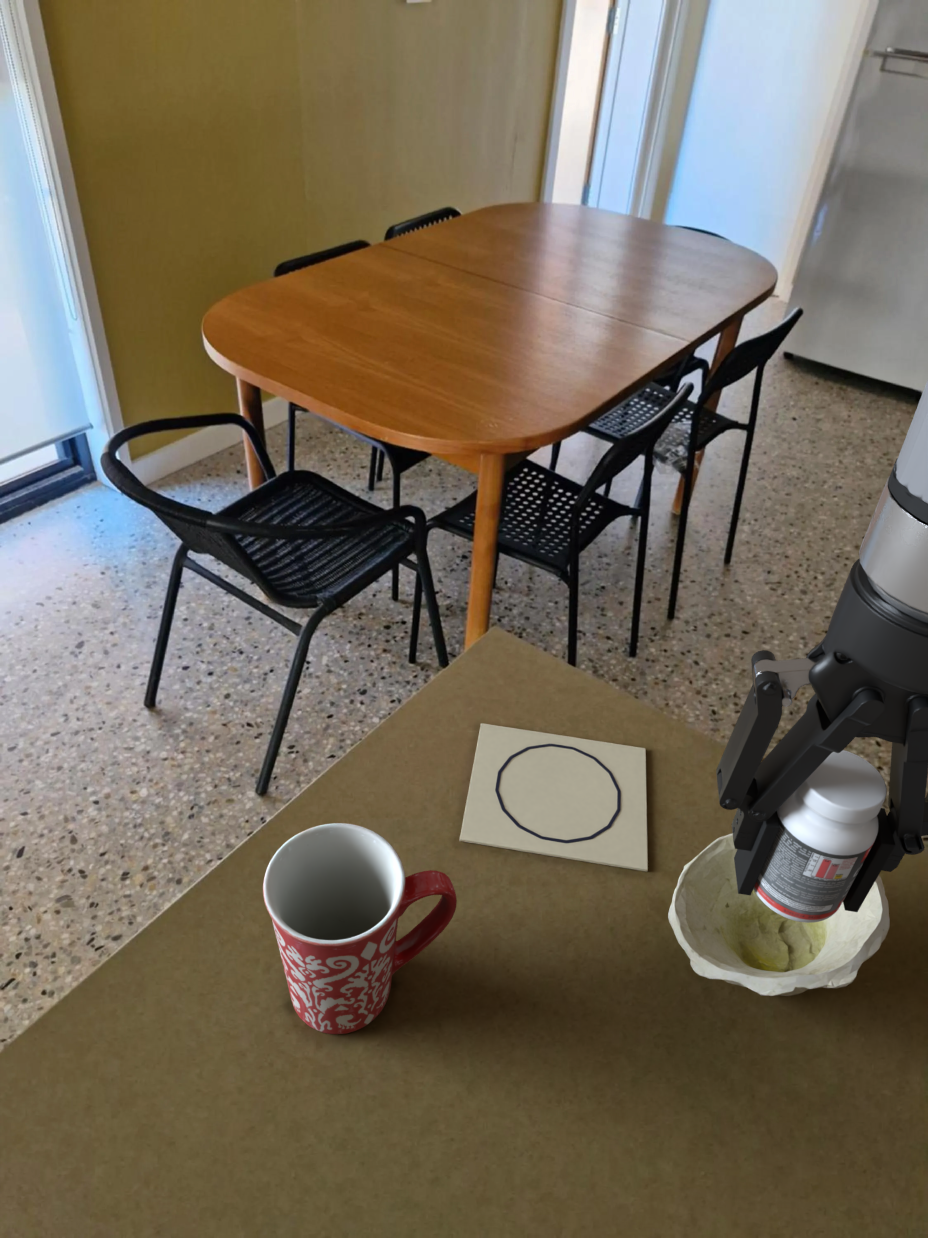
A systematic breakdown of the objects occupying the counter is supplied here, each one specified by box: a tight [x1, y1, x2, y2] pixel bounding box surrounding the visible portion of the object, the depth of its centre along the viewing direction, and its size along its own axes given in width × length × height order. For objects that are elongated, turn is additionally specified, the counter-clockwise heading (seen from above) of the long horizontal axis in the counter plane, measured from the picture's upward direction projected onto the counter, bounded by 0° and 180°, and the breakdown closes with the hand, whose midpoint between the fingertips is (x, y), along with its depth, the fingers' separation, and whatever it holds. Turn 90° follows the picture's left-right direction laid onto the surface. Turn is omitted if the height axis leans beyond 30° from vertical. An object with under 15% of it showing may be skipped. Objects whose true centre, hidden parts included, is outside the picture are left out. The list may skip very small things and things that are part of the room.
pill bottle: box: [754, 749, 888, 923], centre depth 52 cm, size 6×6×10 cm
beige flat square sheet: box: [459, 722, 649, 873], centre depth 80 cm, size 14×16×1 cm
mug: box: [262, 822, 458, 1035], centre depth 61 cm, size 13×9×14 cm
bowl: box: [667, 832, 890, 997], centre depth 66 cm, size 15×14×10 cm
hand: (794, 884), depth 55 cm, fingers closed on pill bottle, 6 cm apart
